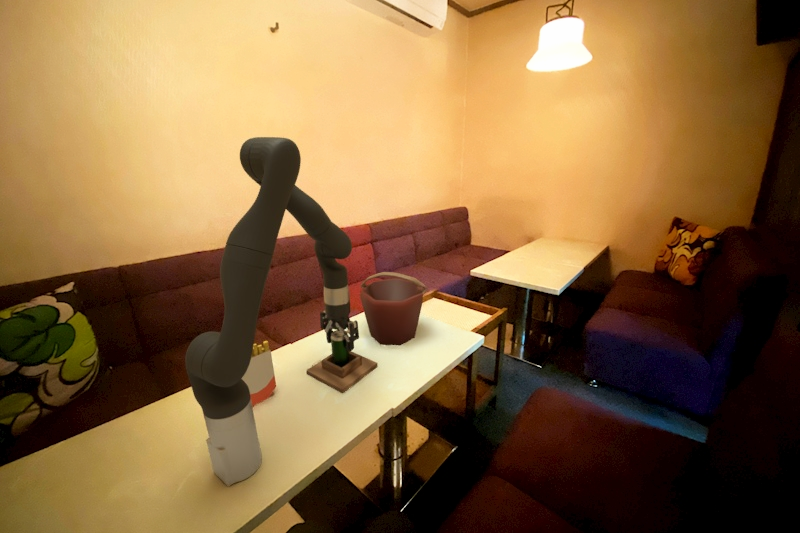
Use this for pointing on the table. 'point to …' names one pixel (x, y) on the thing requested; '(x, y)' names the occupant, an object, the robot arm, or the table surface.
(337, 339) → the beer can
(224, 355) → the robot arm
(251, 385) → the french fries container
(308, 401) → the table surface
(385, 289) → the bucket
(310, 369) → the can holder
